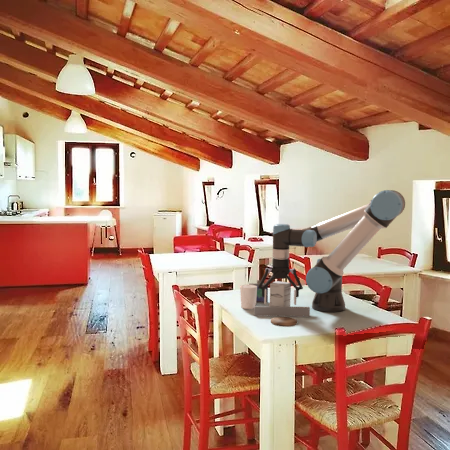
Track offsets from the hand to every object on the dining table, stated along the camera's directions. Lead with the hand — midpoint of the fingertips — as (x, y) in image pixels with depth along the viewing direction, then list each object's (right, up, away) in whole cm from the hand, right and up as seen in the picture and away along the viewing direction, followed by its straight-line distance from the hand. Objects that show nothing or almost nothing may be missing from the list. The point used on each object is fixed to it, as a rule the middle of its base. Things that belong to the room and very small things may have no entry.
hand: (280, 304), depth 228 cm
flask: (-9, -2, +16) cm, 18 cm away
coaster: (-1, -4, -20) cm, 20 cm away
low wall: (0, -4, -10) cm, 10 cm away
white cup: (-14, -3, +5) cm, 15 cm away
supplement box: (0, -3, 0) cm, 3 cm away
